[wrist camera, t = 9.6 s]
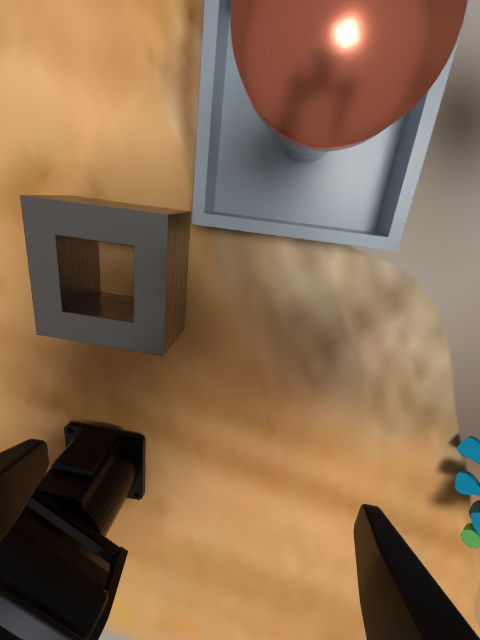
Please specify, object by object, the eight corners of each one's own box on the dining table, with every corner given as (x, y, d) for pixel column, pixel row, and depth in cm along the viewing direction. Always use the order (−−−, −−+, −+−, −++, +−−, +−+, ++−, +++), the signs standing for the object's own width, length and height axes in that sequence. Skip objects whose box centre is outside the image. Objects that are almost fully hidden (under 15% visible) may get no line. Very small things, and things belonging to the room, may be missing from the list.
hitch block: (184, 329, 22) (163, 355, 18) (77, 312, 23) (36, 334, 19) (190, 211, 19) (168, 214, 16) (69, 195, 20) (19, 194, 16)
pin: (341, 181, 17) (425, 155, 7) (259, 171, 17) (220, 132, 7) (362, 81, 16) (512, -147, 5) (271, 73, 16) (244, -155, 6)
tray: (380, 243, 18) (397, 251, 16) (205, 220, 19) (191, 224, 16) (441, 17, 15) (477, -26, 12) (221, 0, 16) (207, -43, 13)
